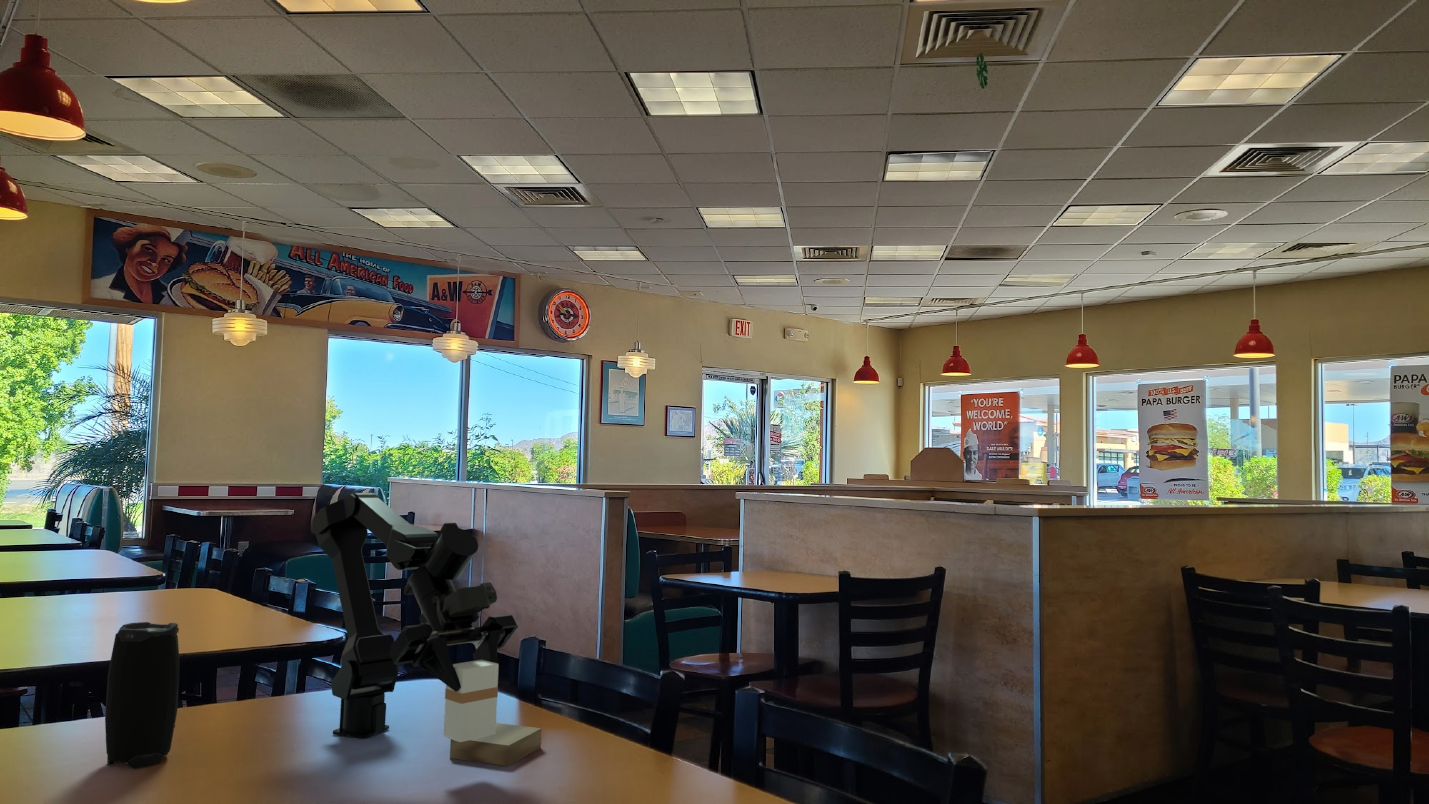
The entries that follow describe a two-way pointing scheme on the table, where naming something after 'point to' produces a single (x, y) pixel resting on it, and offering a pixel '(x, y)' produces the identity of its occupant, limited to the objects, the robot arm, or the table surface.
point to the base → (499, 745)
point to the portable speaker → (142, 694)
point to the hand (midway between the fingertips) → (477, 686)
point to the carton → (472, 701)
